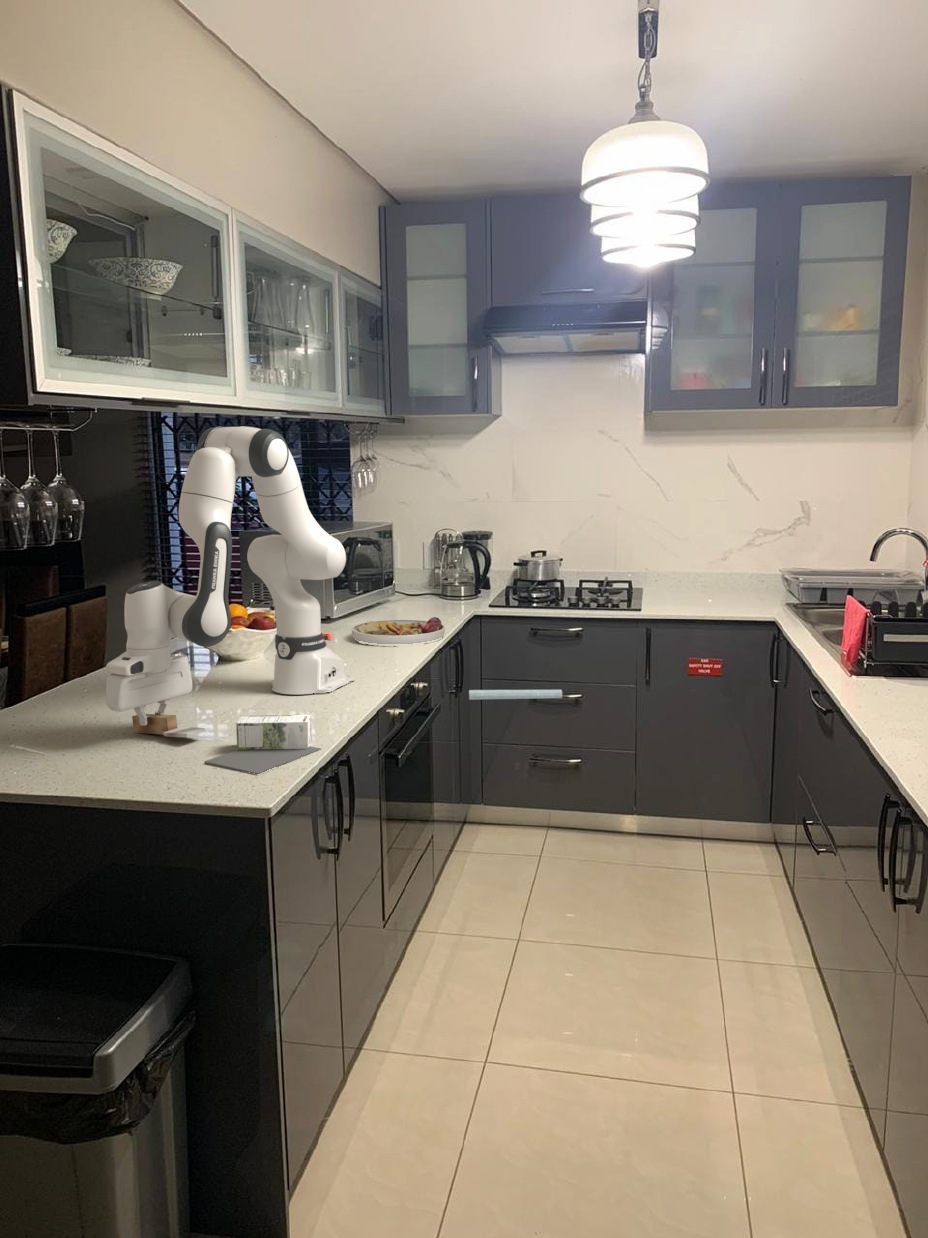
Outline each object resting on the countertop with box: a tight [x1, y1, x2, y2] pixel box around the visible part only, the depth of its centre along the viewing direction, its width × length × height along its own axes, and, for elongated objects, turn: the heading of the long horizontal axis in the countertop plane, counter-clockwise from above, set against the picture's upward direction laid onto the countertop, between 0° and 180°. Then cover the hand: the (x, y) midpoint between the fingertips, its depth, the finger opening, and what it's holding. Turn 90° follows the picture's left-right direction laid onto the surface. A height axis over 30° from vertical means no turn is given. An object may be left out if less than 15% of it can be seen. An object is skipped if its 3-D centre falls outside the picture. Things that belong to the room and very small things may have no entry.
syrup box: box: [235, 714, 313, 750], centre depth 193 cm, size 6×6×14 cm
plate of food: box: [351, 616, 446, 644], centre depth 308 cm, size 30×30×8 cm
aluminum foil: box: [467, 689, 564, 701], centre depth 228 cm, size 23×7×3 cm, turn 90°
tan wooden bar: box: [131, 713, 206, 738], centre depth 202 cm, size 18×5×4 cm, turn 58°
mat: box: [204, 745, 322, 775], centre depth 187 cm, size 18×14×1 cm
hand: (153, 722), depth 204 cm, fingers open, 3 cm apart
